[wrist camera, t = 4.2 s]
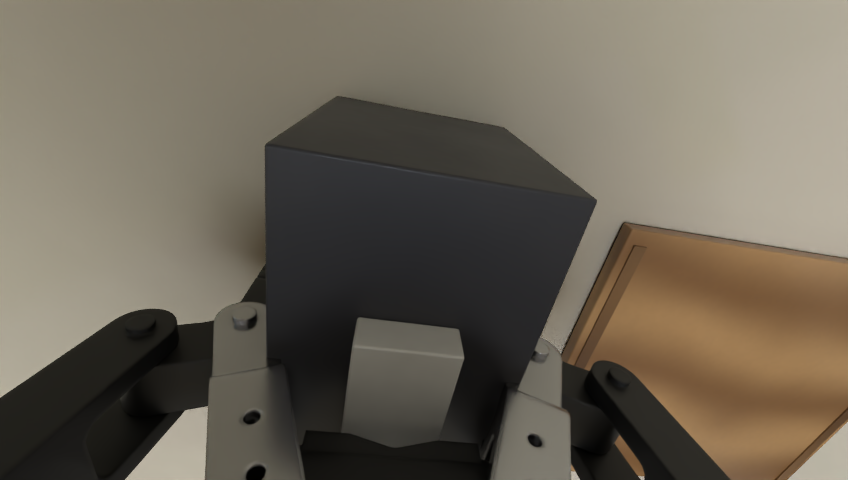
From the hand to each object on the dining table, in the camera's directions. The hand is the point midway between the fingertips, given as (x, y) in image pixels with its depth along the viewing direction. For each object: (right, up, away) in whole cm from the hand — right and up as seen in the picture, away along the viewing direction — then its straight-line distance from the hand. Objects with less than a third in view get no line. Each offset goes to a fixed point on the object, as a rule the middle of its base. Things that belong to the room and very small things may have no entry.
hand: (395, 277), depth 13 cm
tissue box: (0, +1, +1) cm, 1 cm away
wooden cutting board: (+15, -5, +5) cm, 17 cm away
